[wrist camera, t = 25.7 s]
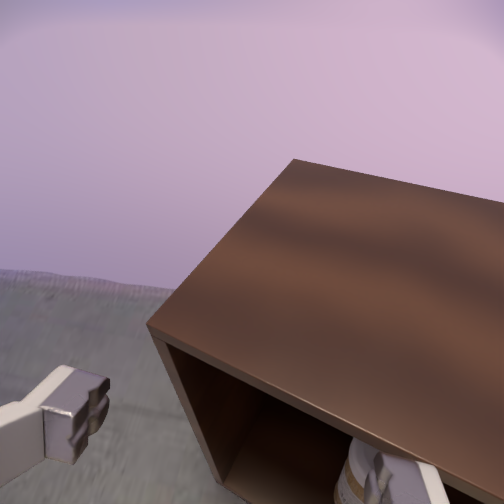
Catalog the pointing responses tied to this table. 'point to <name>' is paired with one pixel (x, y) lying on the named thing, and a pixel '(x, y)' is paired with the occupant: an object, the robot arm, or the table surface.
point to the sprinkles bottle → (355, 473)
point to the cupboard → (344, 337)
